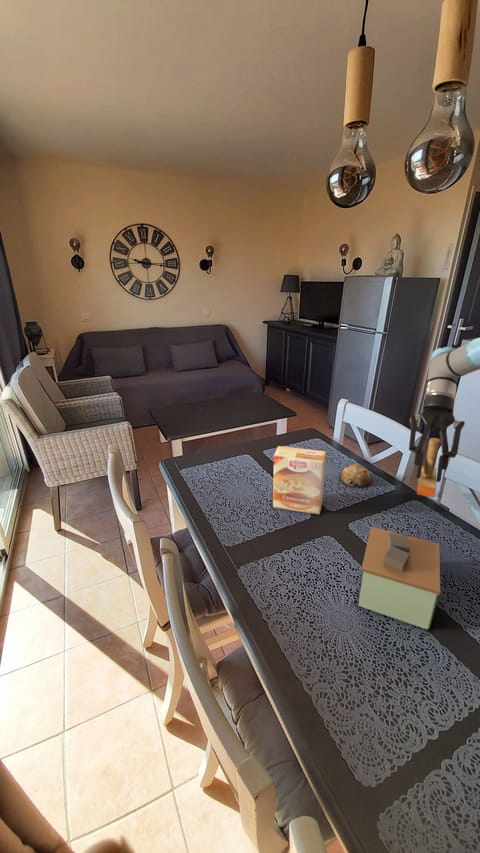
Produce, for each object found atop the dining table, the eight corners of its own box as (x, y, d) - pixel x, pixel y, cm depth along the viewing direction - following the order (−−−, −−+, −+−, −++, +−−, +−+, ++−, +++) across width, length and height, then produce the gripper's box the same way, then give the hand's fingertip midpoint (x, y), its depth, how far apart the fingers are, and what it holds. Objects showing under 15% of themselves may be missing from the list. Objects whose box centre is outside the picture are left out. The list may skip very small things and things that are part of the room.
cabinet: (433, 583, 87) (443, 544, 82) (433, 635, 75) (445, 593, 70) (365, 563, 93) (371, 526, 88) (356, 608, 81) (361, 568, 76)
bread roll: (339, 492, 129) (341, 480, 123) (340, 468, 136) (342, 456, 130) (369, 495, 127) (372, 483, 121) (368, 471, 133) (371, 458, 127)
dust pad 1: (406, 542, 83) (407, 535, 82) (408, 554, 79) (410, 547, 79) (387, 539, 84) (388, 532, 83) (389, 551, 80) (390, 544, 80)
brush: (418, 476, 104) (426, 431, 98) (433, 479, 102) (443, 433, 97) (416, 494, 96) (425, 446, 90) (433, 497, 94) (444, 449, 89)
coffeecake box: (272, 509, 115) (273, 455, 108) (277, 496, 122) (277, 445, 114) (320, 516, 111) (324, 461, 103) (322, 503, 117) (326, 450, 110)
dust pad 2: (408, 560, 78) (410, 553, 77) (402, 571, 75) (403, 564, 74) (390, 552, 80) (391, 545, 79) (383, 562, 77) (384, 555, 77)
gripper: (471, 409, 101) (463, 489, 94) (405, 401, 108) (392, 475, 101) (477, 396, 94) (469, 481, 87) (407, 389, 102) (393, 468, 94)
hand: (428, 478), depth 94 cm, fingers closed on brush, 4 cm apart
